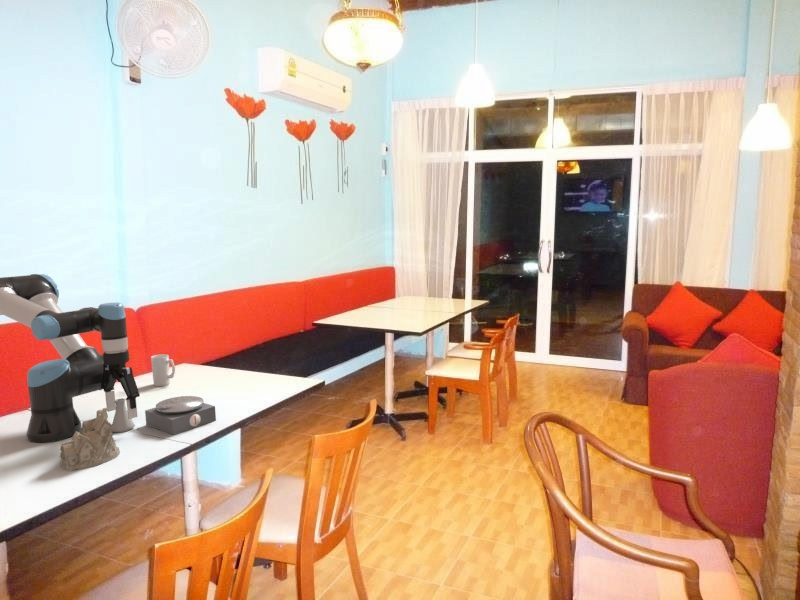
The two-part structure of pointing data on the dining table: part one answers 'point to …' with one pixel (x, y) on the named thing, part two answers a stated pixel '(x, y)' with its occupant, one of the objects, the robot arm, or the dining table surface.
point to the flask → (121, 417)
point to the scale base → (180, 419)
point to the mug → (162, 369)
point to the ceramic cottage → (90, 444)
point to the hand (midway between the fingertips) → (122, 414)
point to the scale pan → (179, 404)
